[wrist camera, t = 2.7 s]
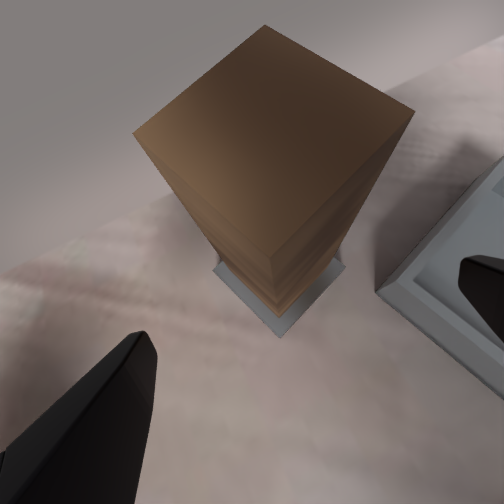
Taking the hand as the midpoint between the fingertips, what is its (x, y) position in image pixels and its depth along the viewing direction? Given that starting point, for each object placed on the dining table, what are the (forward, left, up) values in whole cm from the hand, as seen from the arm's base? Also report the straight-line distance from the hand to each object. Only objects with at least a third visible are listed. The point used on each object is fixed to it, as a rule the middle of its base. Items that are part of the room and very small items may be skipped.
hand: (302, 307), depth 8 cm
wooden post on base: (+2, +3, -11) cm, 11 cm away
